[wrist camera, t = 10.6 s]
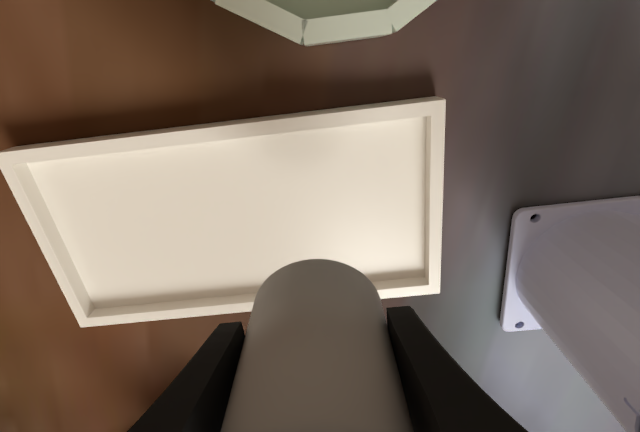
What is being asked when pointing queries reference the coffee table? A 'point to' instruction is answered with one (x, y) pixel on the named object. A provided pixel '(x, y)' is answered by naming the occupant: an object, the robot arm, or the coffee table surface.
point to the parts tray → (235, 207)
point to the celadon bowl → (328, 17)
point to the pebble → (317, 357)
